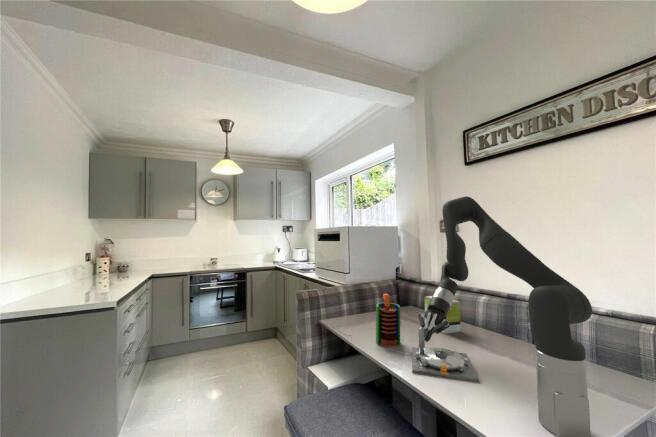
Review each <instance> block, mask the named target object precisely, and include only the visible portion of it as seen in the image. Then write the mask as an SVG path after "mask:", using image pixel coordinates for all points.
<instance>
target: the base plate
mask: <svg viewBox="0 0 656 437" xmlns="http://www.w3.org/2000/svg"><path fill="white" fill-rule="evenodd" d="M416 352H419V347H413V346H411V369H412V370H411V372H412V374H416V375H417V374H418V375H426V376H430V377H431V376H433V377H438V378H447V379H453V380H460V381H466V382H473V383H474V382H475V383H480V378H479V375H478V373H477V371H476V369H475V367H474V366H473V364H472V362H471V360H470V357H469V356H468V354H467V352H466V353H465V352H459V354H460V355H461V356H462V357H463V358H467V359H468V365H466V364H465V370H463V371H460V370H447V372H445V371H441V369H437V368H434V367H431V366H425V365H423V364H422V361H421V360H420V359H419V358H416Z"/></svg>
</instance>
